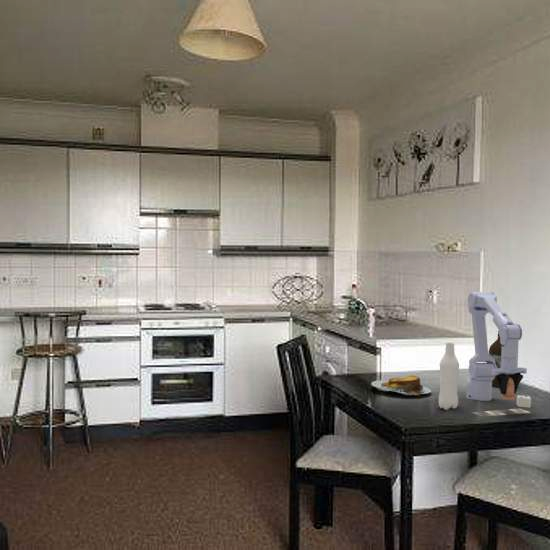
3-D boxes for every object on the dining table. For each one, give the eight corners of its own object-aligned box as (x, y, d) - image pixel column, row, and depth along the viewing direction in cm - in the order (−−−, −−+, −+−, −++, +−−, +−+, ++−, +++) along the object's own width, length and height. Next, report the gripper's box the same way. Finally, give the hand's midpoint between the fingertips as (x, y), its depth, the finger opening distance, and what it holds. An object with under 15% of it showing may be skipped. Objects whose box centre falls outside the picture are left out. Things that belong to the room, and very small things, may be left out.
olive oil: (495, 382, 282) (497, 328, 281) (517, 386, 273) (519, 331, 272) (482, 385, 275) (484, 330, 274) (504, 389, 267) (506, 333, 266)
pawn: (500, 399, 224) (501, 377, 224) (502, 396, 228) (503, 375, 228) (513, 400, 222) (514, 379, 221) (515, 398, 226) (516, 376, 225)
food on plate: (371, 384, 274) (371, 369, 274) (428, 387, 270) (428, 372, 270) (371, 397, 249) (371, 381, 248) (433, 401, 245) (434, 384, 245)
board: (483, 419, 217) (483, 417, 217) (470, 414, 224) (470, 412, 224) (532, 415, 225) (532, 412, 225) (518, 410, 231) (518, 408, 231)
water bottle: (458, 411, 228) (461, 345, 227) (439, 410, 229) (441, 344, 228) (456, 407, 235) (458, 342, 234) (437, 405, 236) (439, 341, 235)
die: (518, 409, 233) (518, 397, 233) (516, 406, 238) (516, 395, 238) (530, 410, 232) (531, 398, 232) (528, 407, 237) (529, 395, 236)
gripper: (500, 359, 218) (499, 397, 219) (533, 358, 223) (531, 394, 223) (487, 356, 225) (486, 392, 225) (519, 354, 230) (518, 390, 230)
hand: (508, 393), depth 225 cm, fingers closed on pawn, 4 cm apart
